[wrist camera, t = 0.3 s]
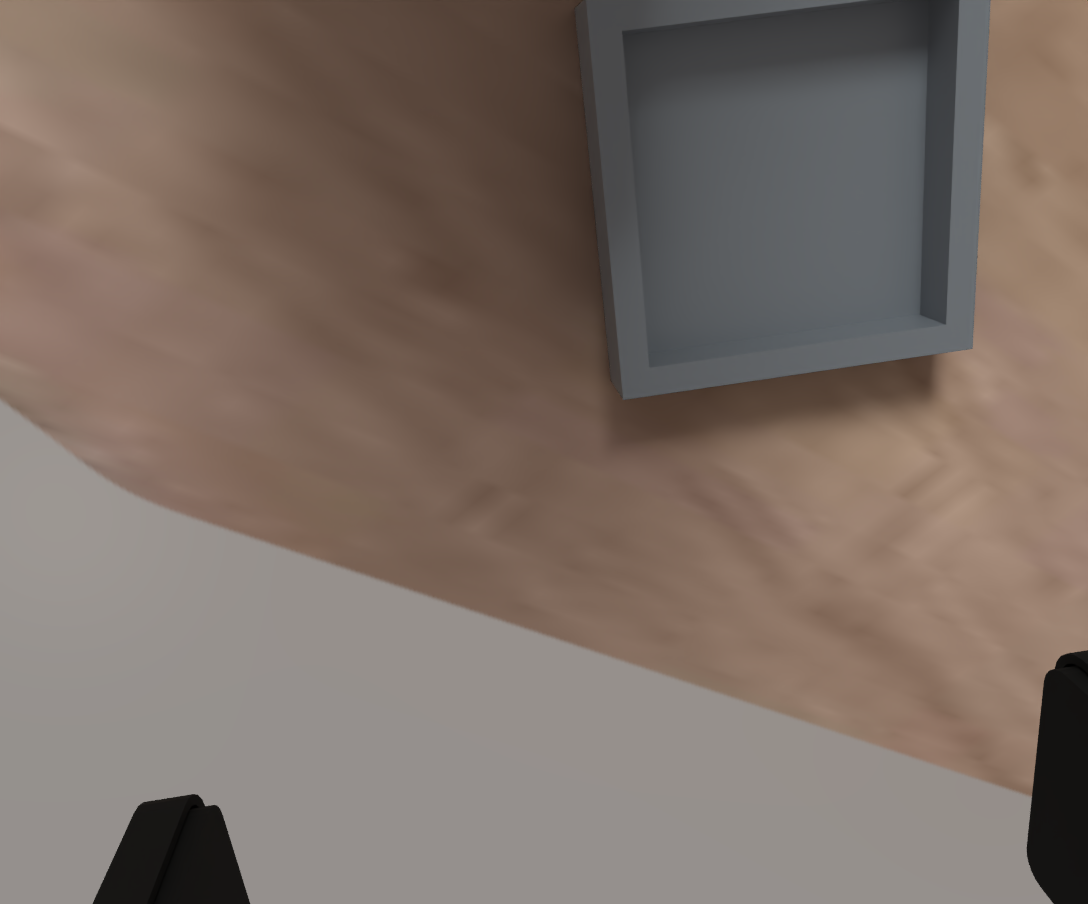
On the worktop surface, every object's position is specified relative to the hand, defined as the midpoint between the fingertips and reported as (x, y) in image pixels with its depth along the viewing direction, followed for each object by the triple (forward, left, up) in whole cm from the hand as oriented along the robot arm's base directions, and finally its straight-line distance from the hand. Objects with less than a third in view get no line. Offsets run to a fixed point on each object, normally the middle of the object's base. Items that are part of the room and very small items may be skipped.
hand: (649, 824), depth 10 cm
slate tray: (-4, +12, -30) cm, 32 cm away
